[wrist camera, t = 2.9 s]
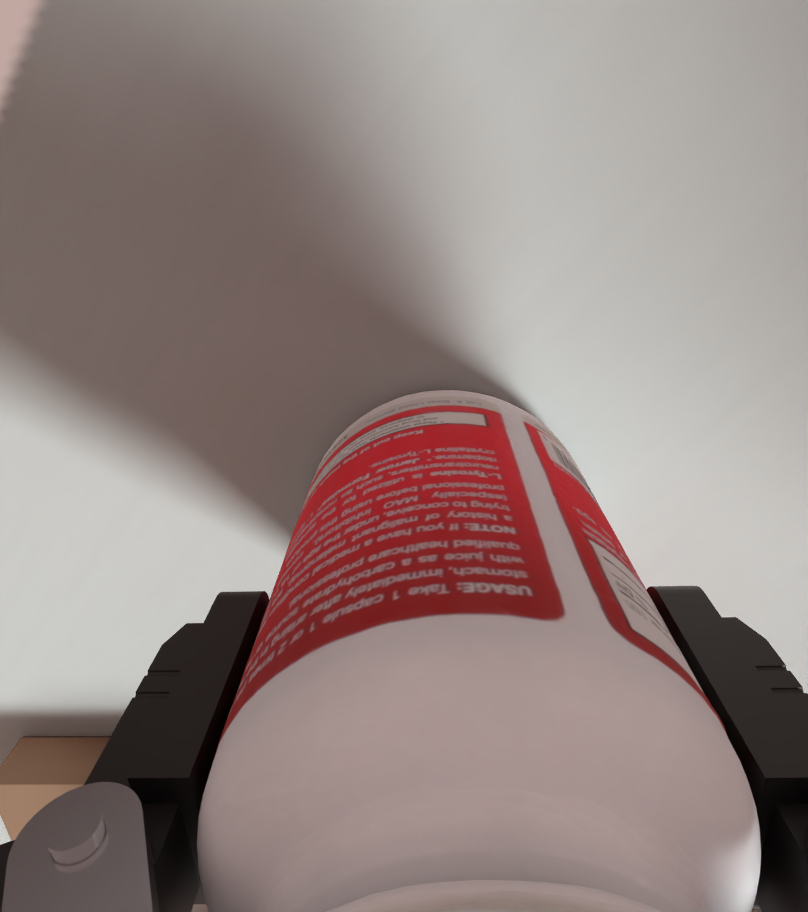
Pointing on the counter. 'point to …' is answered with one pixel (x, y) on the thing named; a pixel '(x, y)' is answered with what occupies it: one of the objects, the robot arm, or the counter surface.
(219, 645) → the robot arm
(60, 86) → the counter surface
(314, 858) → the pill bottle
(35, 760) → the bottle holder
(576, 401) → the counter surface
